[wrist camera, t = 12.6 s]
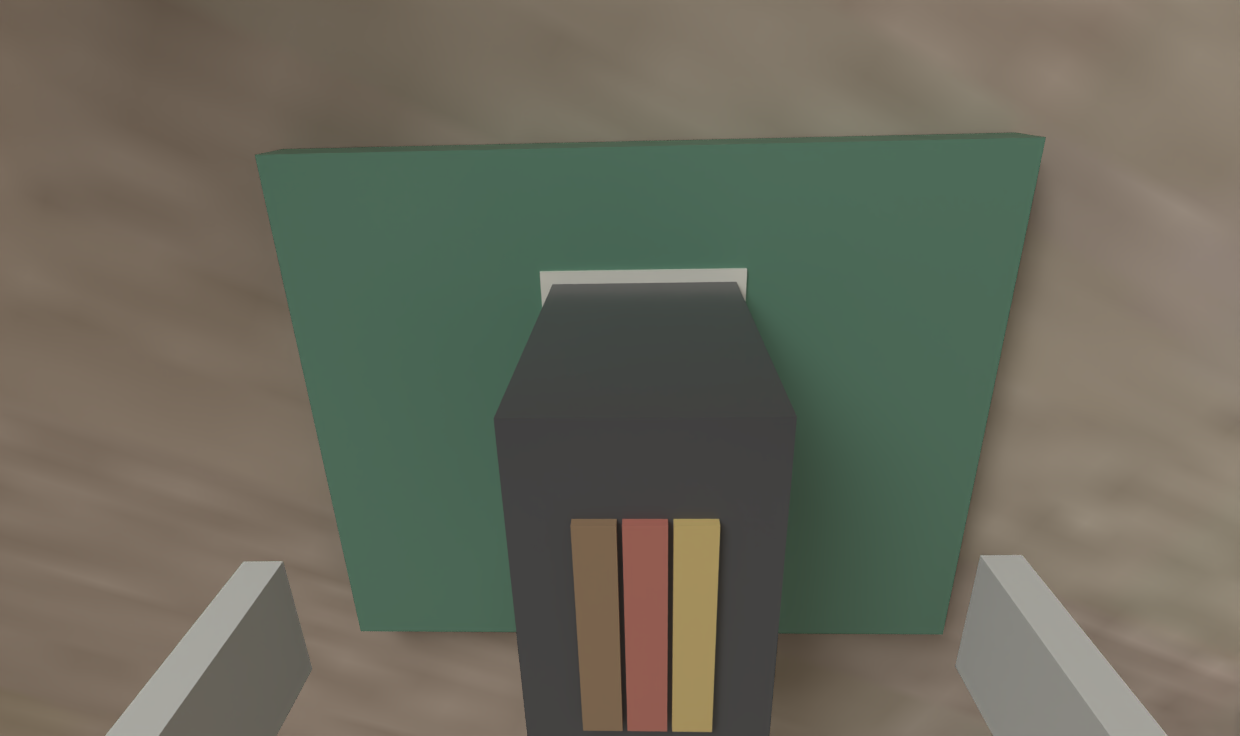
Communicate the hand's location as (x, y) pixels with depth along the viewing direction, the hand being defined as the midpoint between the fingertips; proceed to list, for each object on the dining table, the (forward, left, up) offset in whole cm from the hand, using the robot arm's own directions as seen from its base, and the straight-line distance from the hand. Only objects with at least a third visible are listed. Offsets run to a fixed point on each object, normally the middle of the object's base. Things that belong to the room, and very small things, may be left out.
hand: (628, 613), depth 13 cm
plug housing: (0, 0, -8) cm, 8 cm away
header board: (0, 0, -9) cm, 9 cm away
